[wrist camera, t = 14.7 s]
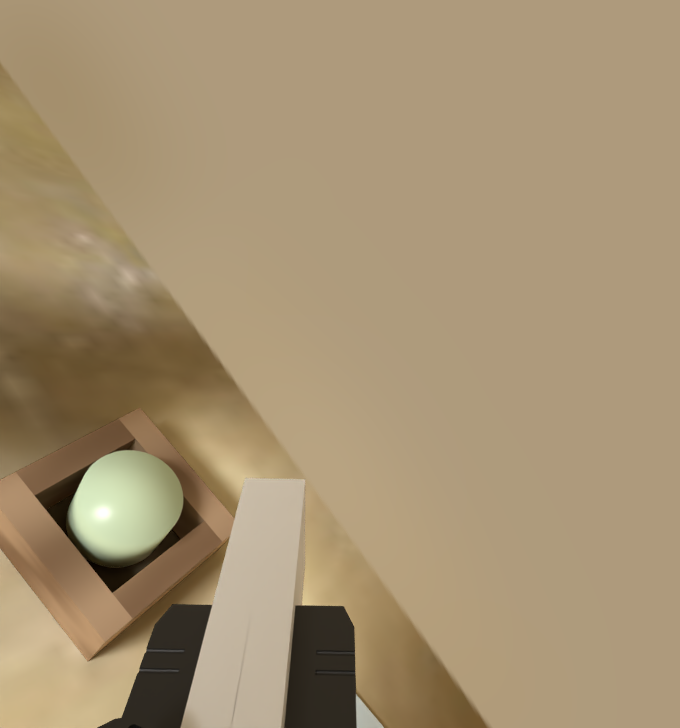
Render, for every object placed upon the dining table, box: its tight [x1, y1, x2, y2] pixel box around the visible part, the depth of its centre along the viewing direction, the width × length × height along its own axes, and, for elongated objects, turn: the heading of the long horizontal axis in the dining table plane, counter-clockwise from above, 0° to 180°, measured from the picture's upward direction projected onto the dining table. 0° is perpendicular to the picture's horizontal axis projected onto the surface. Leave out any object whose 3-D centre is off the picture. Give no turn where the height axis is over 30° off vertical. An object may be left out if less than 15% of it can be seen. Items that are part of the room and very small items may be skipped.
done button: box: [66, 450, 183, 568], centre depth 30 cm, size 5×5×3 cm
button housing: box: [0, 408, 235, 661], centre depth 31 cm, size 9×9×3 cm
